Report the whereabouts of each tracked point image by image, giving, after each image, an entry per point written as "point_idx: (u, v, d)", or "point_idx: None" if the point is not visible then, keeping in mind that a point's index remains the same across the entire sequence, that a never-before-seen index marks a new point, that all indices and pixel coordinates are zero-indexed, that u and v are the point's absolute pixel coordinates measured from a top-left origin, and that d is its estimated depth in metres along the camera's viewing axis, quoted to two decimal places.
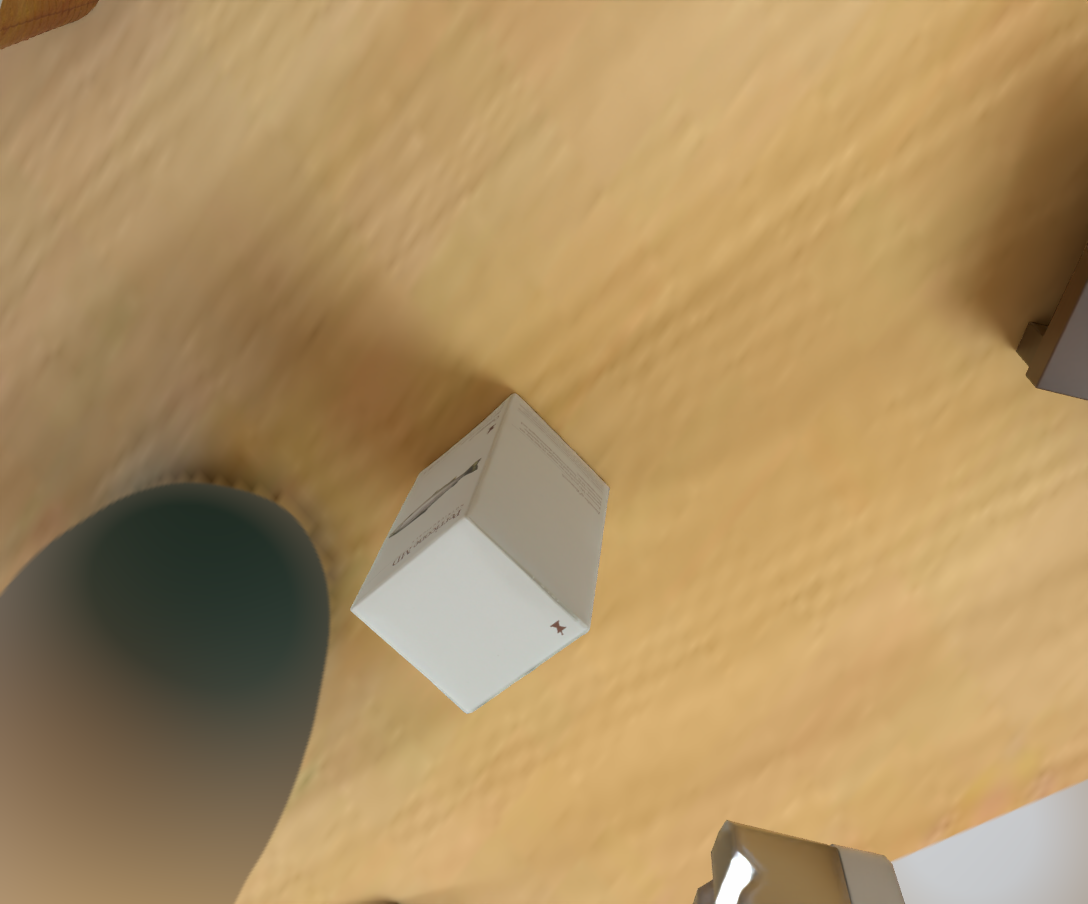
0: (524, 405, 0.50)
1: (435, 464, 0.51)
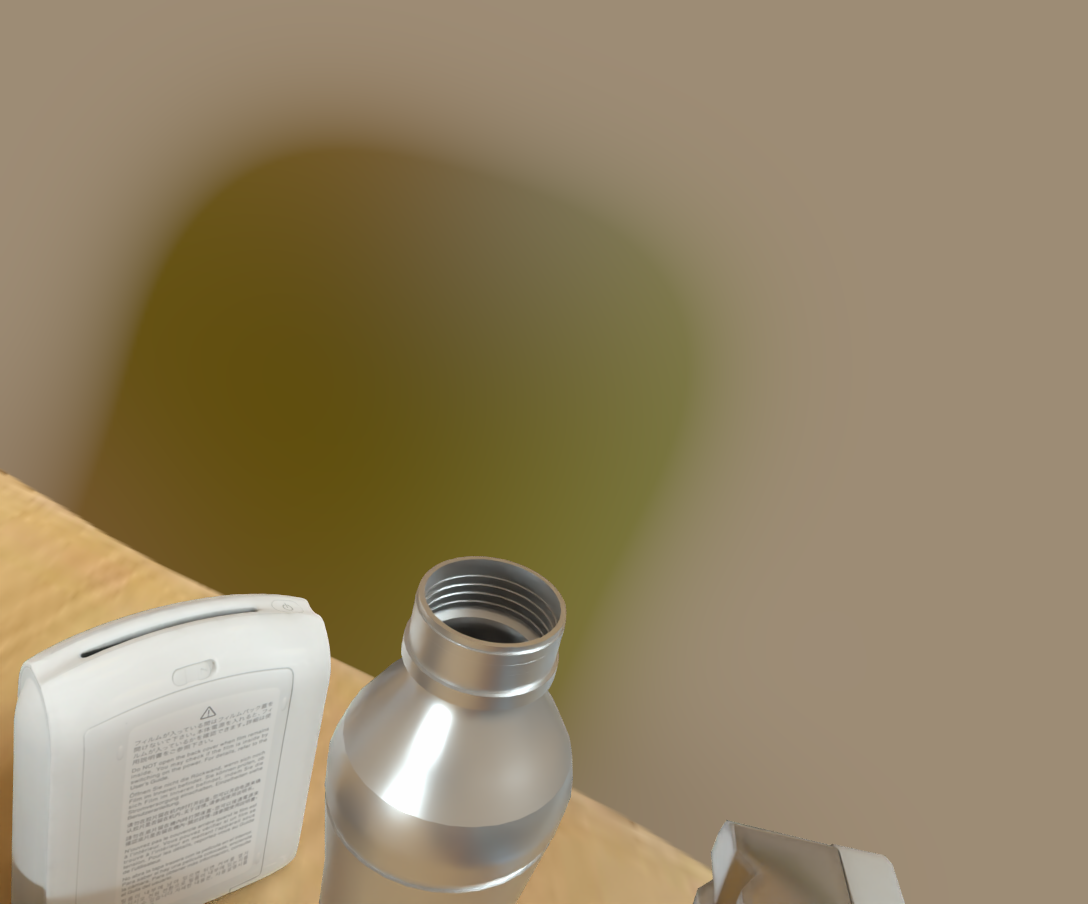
0: None
1: None
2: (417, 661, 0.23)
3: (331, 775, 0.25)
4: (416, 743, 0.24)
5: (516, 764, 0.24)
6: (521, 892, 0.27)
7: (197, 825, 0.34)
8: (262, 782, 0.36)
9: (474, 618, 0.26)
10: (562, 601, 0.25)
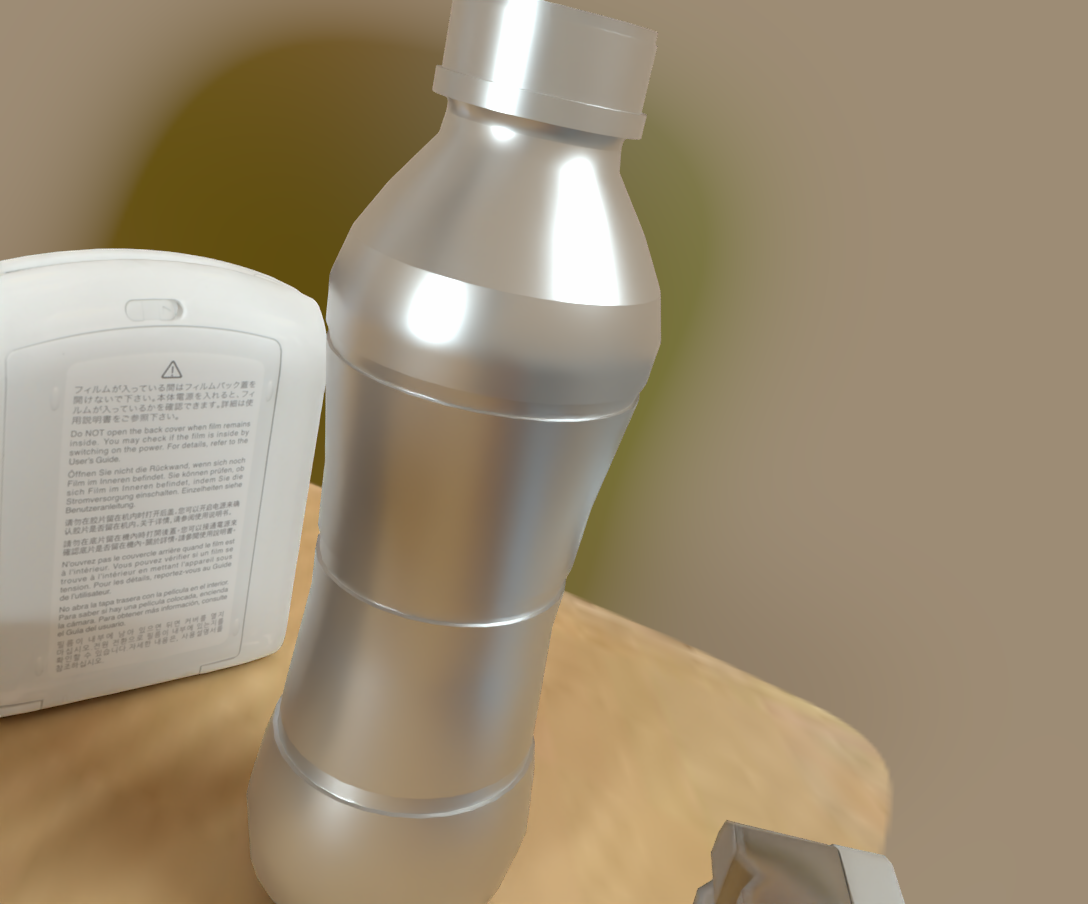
0: None
1: None
2: (457, 70, 0.17)
3: (335, 278, 0.18)
4: (456, 189, 0.17)
5: (594, 235, 0.17)
6: (593, 494, 0.20)
7: (158, 550, 0.27)
8: (242, 509, 0.28)
9: None
10: None
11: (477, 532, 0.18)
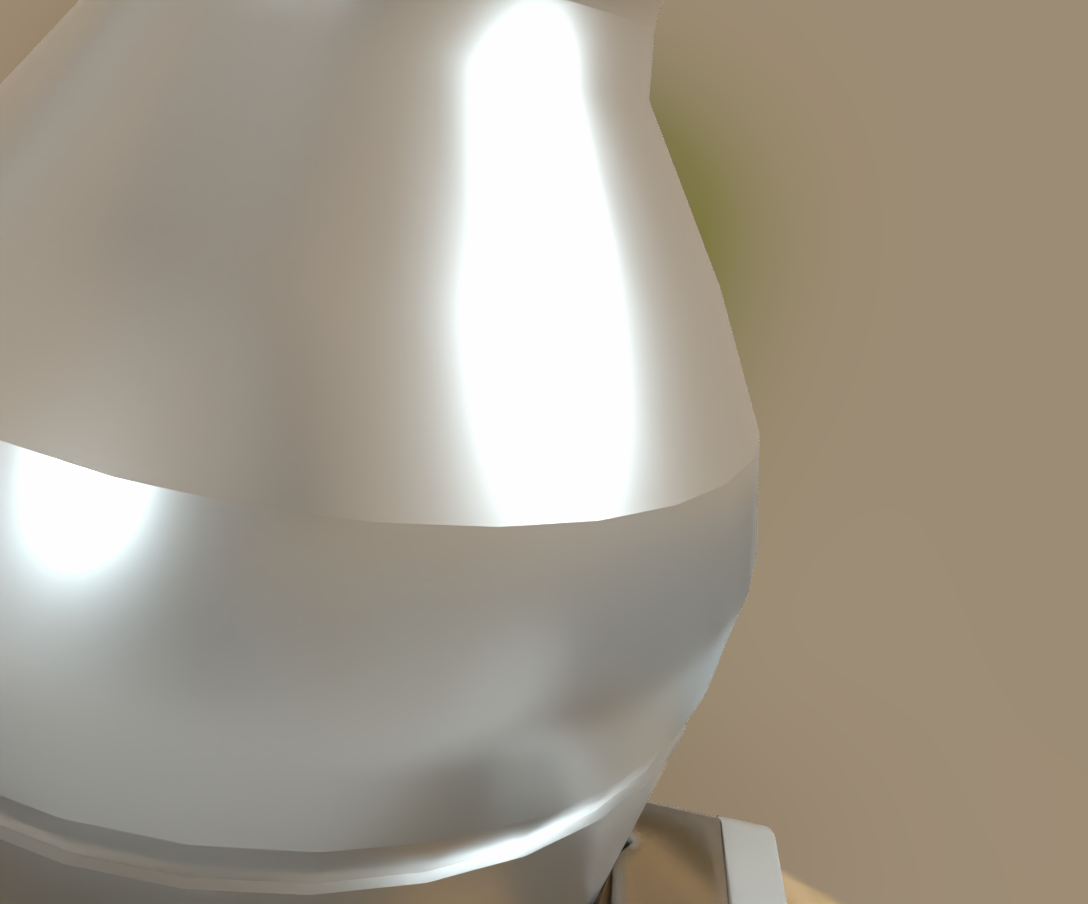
0: None
1: None
2: None
3: None
4: (90, 130, 0.05)
5: (576, 283, 0.05)
6: None
7: None
8: None
9: None
10: None
11: None
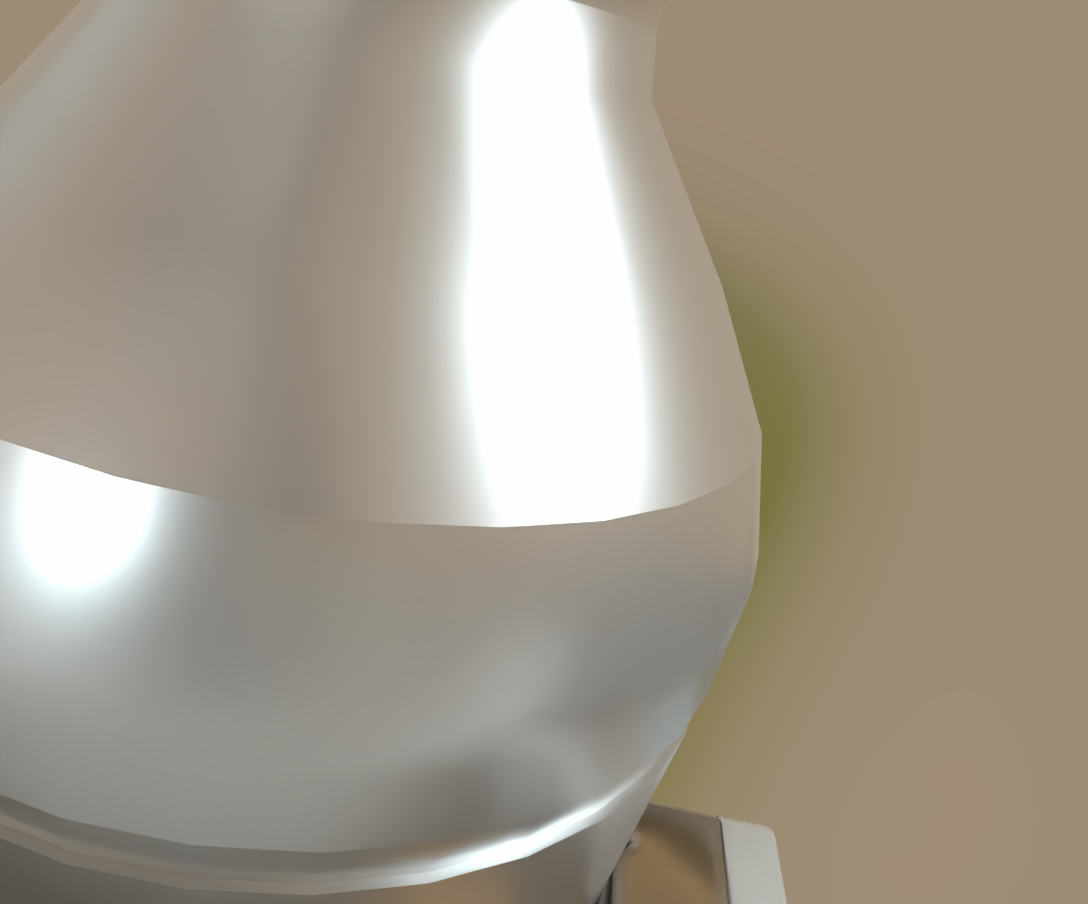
0: None
1: None
2: None
3: None
4: (92, 130, 0.05)
5: (579, 285, 0.05)
6: None
7: None
8: None
9: None
10: None
11: None
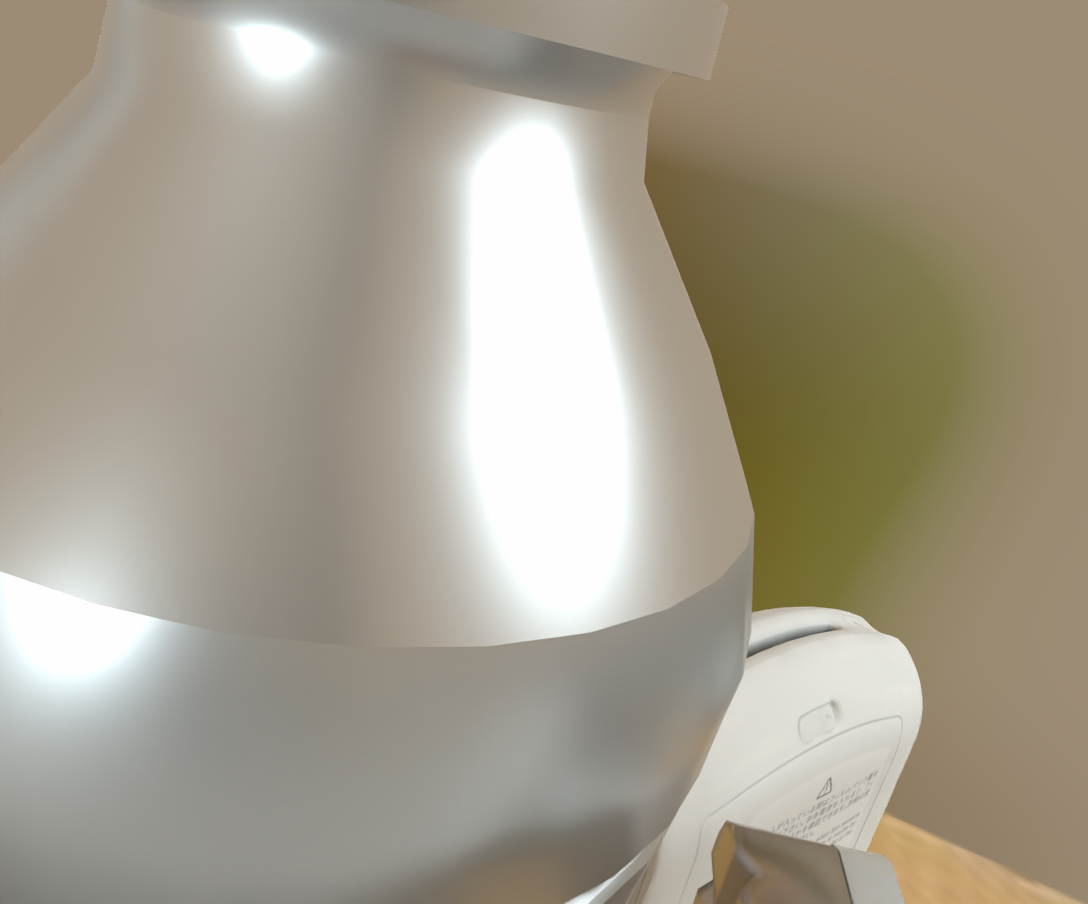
0: None
1: None
2: None
3: None
4: (76, 245, 0.05)
5: (566, 388, 0.05)
6: None
7: None
8: None
9: None
10: None
11: None
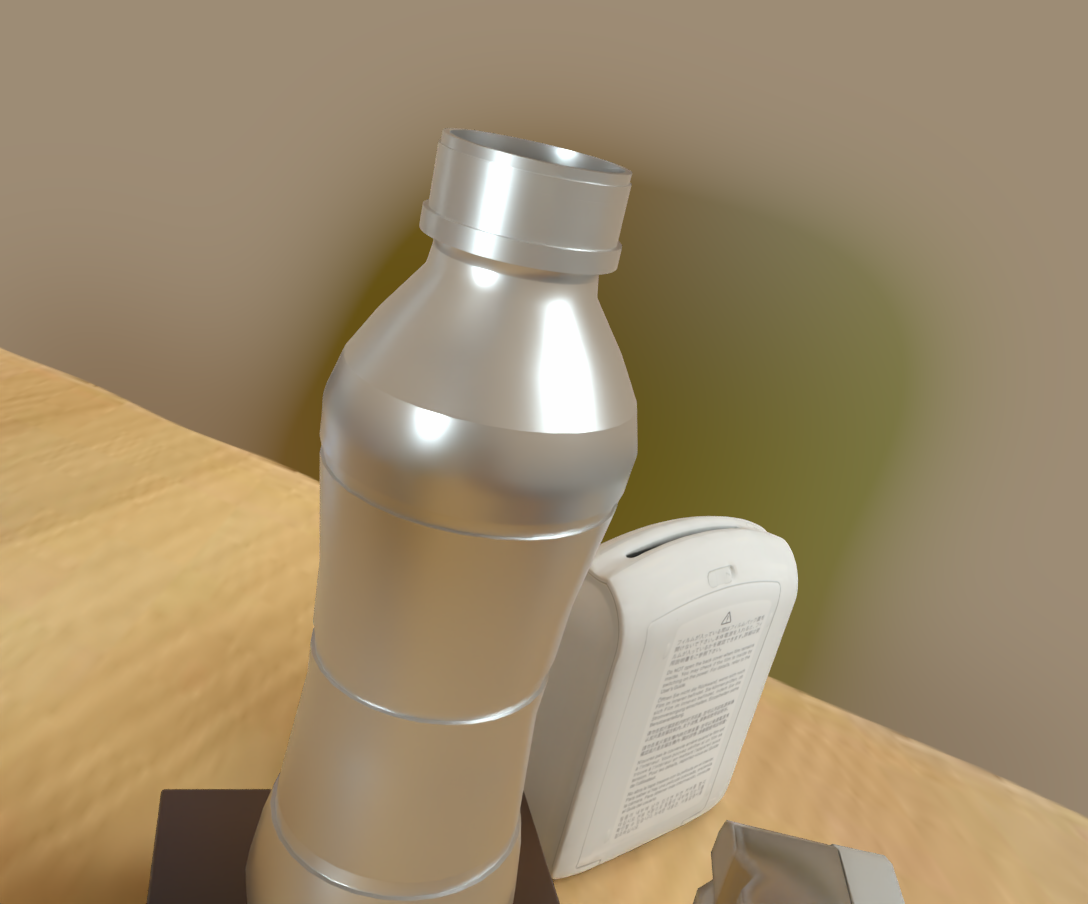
0: None
1: None
2: (441, 214, 0.18)
3: (328, 402, 0.19)
4: (440, 326, 0.18)
5: (571, 365, 0.18)
6: (574, 596, 0.21)
7: (686, 743, 0.35)
8: (733, 704, 0.36)
9: None
10: (625, 168, 0.19)
11: (461, 639, 0.19)
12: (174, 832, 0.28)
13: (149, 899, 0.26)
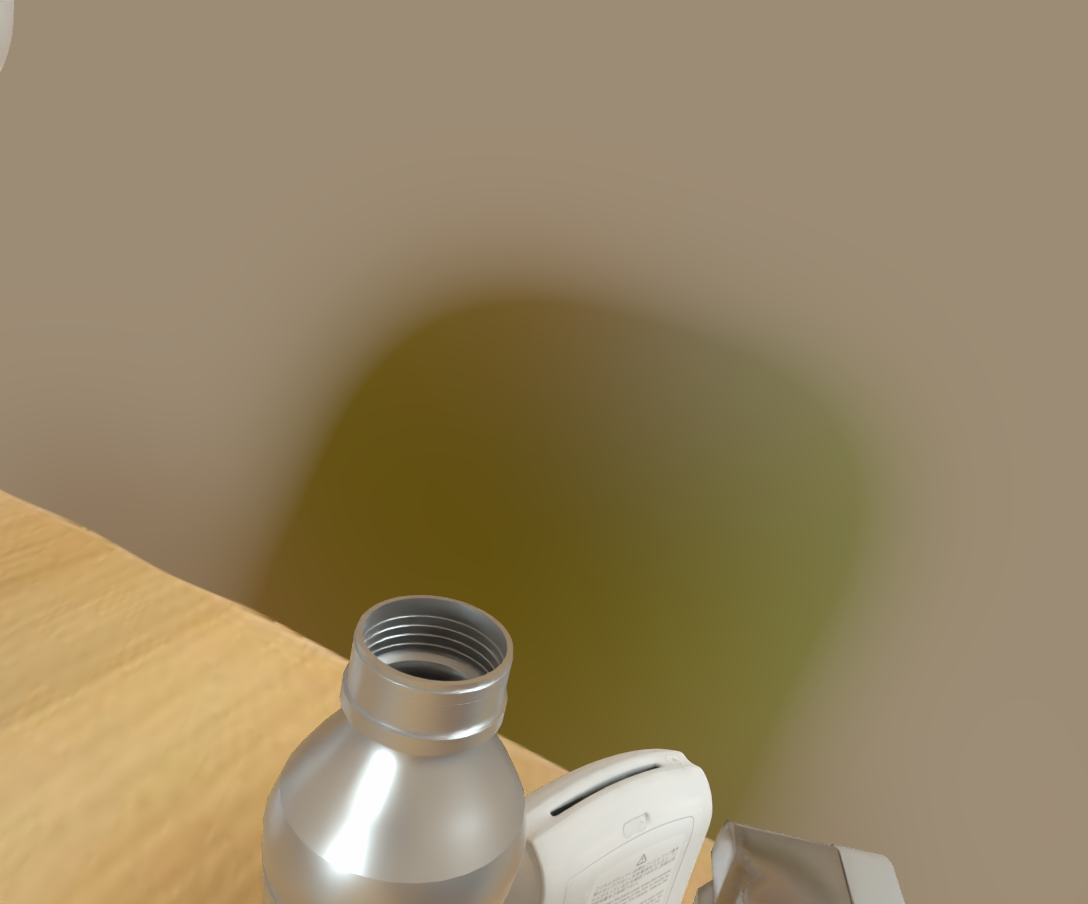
0: None
1: None
2: (354, 704, 0.22)
3: (266, 832, 0.23)
4: (354, 793, 0.22)
5: (462, 815, 0.23)
6: None
7: None
8: None
9: (420, 662, 0.25)
10: (509, 639, 0.23)
11: None
12: None
13: None
